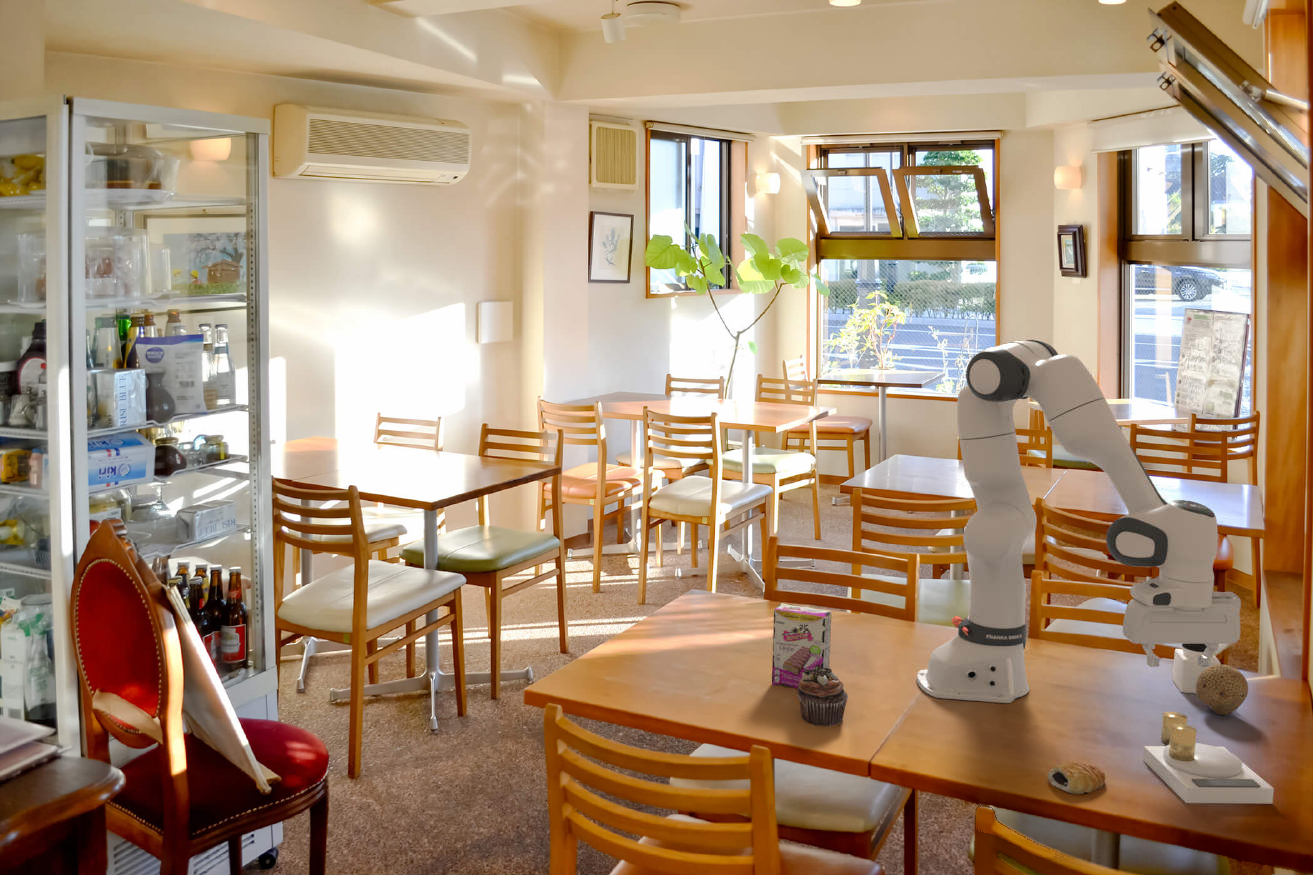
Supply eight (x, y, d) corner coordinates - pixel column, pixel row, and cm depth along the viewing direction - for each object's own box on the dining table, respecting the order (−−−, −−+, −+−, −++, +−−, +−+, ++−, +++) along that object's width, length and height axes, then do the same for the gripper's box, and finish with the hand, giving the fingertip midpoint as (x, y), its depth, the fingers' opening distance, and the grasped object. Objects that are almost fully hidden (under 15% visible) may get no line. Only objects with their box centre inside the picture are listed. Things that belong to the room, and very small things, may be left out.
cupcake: (835, 731, 206) (837, 680, 204) (788, 720, 211) (789, 670, 209) (855, 714, 214) (856, 665, 212) (809, 704, 219) (810, 656, 217)
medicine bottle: (1218, 695, 225) (1223, 639, 223) (1180, 692, 226) (1185, 636, 224) (1208, 683, 232) (1212, 628, 230) (1172, 680, 233) (1176, 625, 231)
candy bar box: (770, 685, 229) (772, 608, 227) (778, 677, 234) (780, 602, 231) (823, 693, 224) (825, 616, 222) (829, 685, 229) (832, 609, 227)
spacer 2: (1198, 761, 186) (1201, 733, 185) (1175, 761, 186) (1177, 733, 185) (1187, 751, 190) (1189, 723, 189) (1164, 751, 190) (1166, 723, 189)
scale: (1185, 802, 179) (1187, 781, 178) (1142, 760, 194) (1144, 740, 194) (1272, 803, 179) (1274, 782, 178) (1222, 760, 194) (1224, 741, 194)
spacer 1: (1167, 746, 200) (1169, 720, 200) (1157, 737, 204) (1159, 711, 204) (1189, 746, 200) (1191, 720, 200) (1178, 737, 204) (1180, 711, 204)
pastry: (1085, 772, 190) (1087, 751, 189) (1116, 789, 184) (1117, 767, 183) (1043, 781, 186) (1044, 760, 186) (1073, 799, 180) (1074, 777, 180)
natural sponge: (1222, 726, 209) (1226, 676, 208) (1183, 709, 217) (1187, 661, 216) (1255, 719, 213) (1260, 669, 211) (1216, 702, 221) (1220, 654, 220)
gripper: (1231, 586, 201) (1224, 659, 203) (1121, 586, 200) (1115, 659, 202) (1251, 596, 195) (1244, 671, 197) (1138, 596, 194) (1132, 671, 196)
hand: (1178, 665), depth 199 cm, fingers open, 8 cm apart
